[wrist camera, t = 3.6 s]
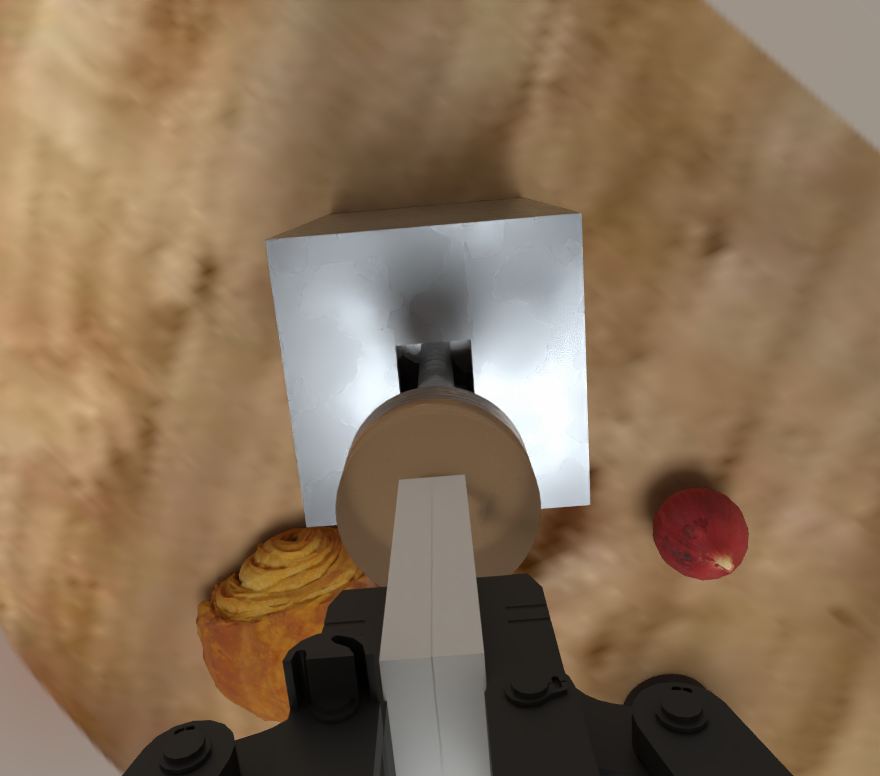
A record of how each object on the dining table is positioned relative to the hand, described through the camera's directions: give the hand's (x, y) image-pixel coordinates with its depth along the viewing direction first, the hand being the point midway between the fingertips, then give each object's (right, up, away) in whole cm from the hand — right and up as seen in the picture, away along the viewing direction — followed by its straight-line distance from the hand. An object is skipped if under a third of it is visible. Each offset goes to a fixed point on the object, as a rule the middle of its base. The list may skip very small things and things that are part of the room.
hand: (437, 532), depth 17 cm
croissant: (-9, -13, +38) cm, 41 cm away
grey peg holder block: (0, +9, +31) cm, 32 cm away
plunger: (0, +6, +21) cm, 22 cm away
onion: (+17, -5, +36) cm, 40 cm away
